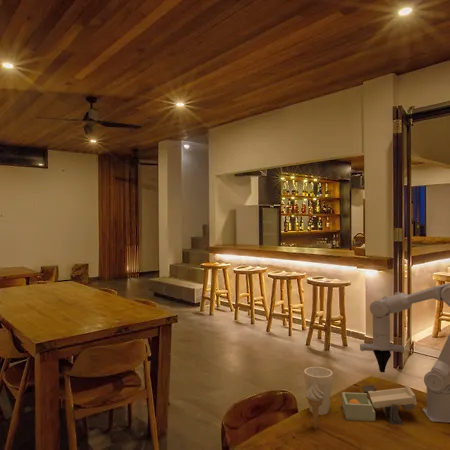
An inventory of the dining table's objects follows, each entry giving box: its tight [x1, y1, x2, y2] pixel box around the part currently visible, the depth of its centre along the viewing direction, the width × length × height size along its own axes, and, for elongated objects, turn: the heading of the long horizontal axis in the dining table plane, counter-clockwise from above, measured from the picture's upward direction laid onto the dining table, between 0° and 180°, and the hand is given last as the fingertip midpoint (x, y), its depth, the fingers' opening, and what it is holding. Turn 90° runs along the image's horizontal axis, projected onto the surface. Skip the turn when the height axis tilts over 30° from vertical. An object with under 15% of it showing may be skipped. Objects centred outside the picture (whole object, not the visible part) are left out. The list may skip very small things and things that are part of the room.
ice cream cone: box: [305, 381, 324, 430], centre depth 121 cm, size 6×6×15 cm
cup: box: [341, 391, 376, 422], centre depth 129 cm, size 9×9×5 cm
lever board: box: [361, 384, 418, 411], centre depth 132 cm, size 14×15×5 cm
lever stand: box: [381, 405, 404, 426], centre depth 128 cm, size 4×11×6 cm, turn 171°
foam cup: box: [303, 366, 334, 416], centre depth 132 cm, size 10×9×13 cm
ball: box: [348, 399, 360, 404], centre depth 130 cm, size 4×4×4 cm
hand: (382, 371), depth 140 cm, fingers closed
